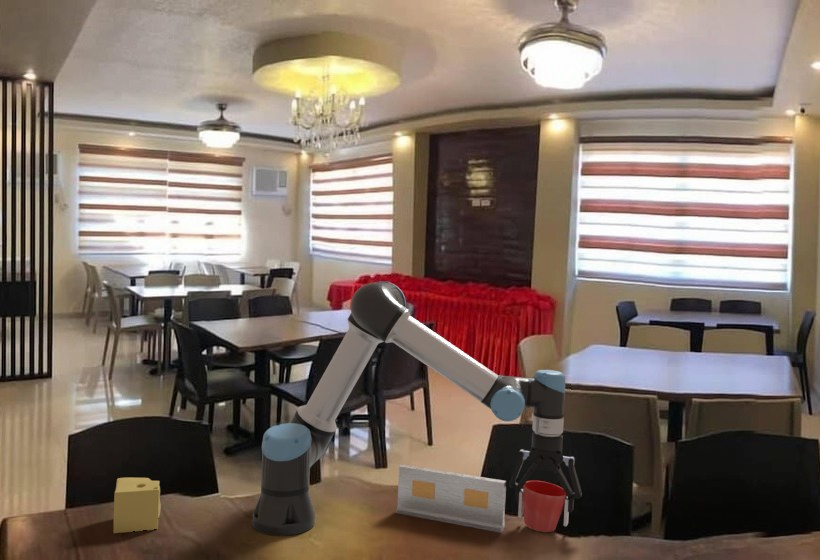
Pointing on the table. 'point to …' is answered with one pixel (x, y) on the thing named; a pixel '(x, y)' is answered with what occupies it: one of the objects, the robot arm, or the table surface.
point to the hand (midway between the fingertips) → (543, 520)
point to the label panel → (452, 497)
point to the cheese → (136, 505)
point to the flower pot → (542, 505)
